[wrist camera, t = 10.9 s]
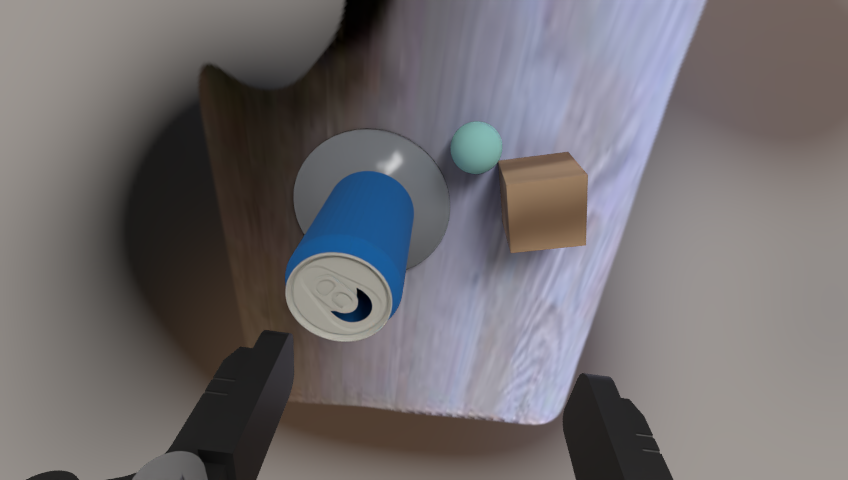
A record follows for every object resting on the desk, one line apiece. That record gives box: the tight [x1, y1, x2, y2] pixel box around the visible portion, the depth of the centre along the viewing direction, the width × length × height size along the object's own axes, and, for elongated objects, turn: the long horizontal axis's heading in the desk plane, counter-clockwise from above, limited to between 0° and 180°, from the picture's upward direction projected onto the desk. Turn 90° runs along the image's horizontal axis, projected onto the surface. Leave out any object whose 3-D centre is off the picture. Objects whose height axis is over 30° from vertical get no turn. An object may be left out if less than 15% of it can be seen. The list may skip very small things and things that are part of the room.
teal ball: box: [450, 121, 502, 174], centre depth 30 cm, size 4×4×4 cm
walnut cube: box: [498, 152, 588, 253], centre depth 31 cm, size 5×5×5 cm
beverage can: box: [285, 171, 414, 342], centre depth 28 cm, size 6×6×12 cm
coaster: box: [294, 128, 450, 270], centre depth 34 cm, size 12×12×1 cm
